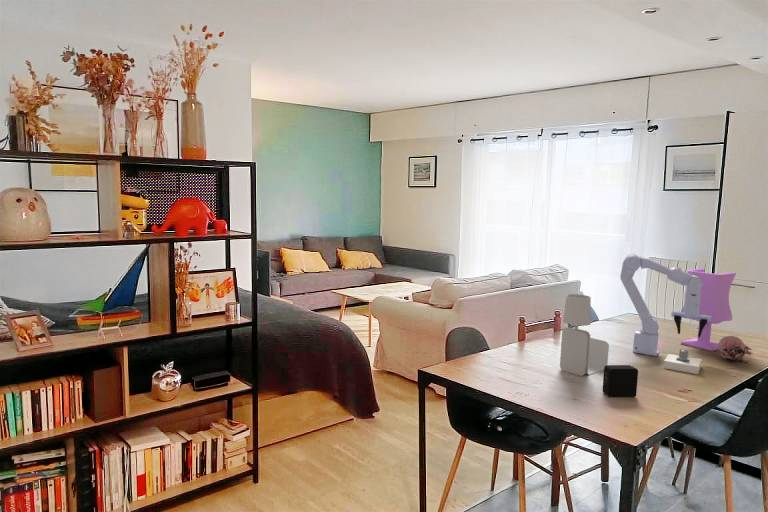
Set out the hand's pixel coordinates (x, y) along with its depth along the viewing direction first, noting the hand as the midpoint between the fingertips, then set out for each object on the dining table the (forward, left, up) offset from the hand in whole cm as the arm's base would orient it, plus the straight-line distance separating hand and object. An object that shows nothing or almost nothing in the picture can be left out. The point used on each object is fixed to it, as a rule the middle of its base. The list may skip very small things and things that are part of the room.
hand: (689, 335), depth 232 cm
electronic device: (-14, -67, -10) cm, 69 cm away
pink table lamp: (+4, +27, -10) cm, 29 cm away
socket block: (0, -17, -10) cm, 20 cm away
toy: (+17, +7, -10) cm, 21 cm away
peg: (0, -17, -10) cm, 20 cm away
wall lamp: (-32, -47, -10) cm, 58 cm away
